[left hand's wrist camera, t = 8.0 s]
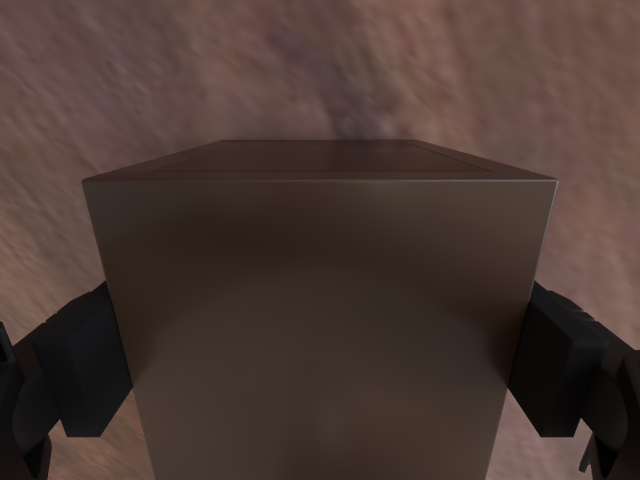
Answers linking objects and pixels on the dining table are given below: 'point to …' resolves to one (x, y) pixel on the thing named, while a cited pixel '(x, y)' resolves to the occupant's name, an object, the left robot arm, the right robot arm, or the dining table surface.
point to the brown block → (320, 304)
